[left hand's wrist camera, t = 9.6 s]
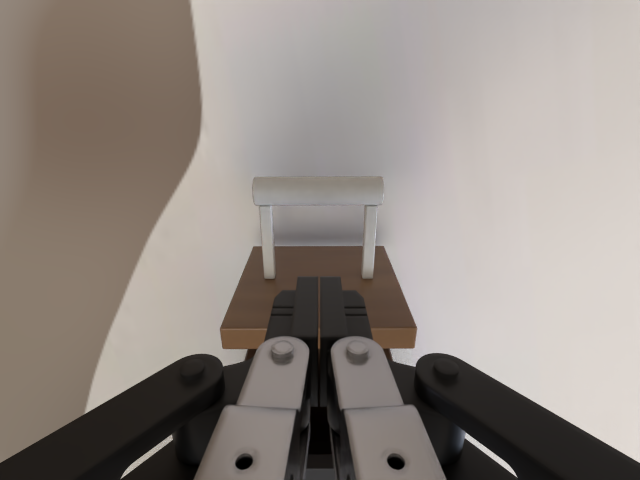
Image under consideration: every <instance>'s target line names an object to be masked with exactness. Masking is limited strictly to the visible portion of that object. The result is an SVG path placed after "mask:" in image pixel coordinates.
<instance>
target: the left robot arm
mask: <svg viewBox="0 0 640 480" xmlns="http://www.w3.org/2000/svg"><path fill="white" fill-rule="evenodd" d="M310 407H318V276H298V277H297V285H296V290H282V291H281V292H280V293H279V294H278V295H277V296H276V297H275V298H274V302H273V306H272V310H271V316H270V319H269V323H268V327H267V331H266V335H265V340H264V343H262V344H261V345H260V346H259V347H258V349H257V351H256V353H255V356H253V357H252V358H250V359H248V360H246V361H243V362H240V363H237V364H233V365H228V366H224V367H223V365H222V362H221V361H220V360H219V359H218V358H217V357H215V356H212V355H208V354H195V355H190V356H187V357H184V358H182V359H180V360H178V361H176V362H174V363H172V364H171V365H169V366H167V367H165V368H164V369H162V370H160V371H159V372H157V373H155V374H153V375H152V376H150V377H148V378H146V379H145V380H143V381H141V382H140V383H138V384H136V385H134V386H133V387H131V388H129V389H127V390H126V391H124V392H122V393H121V394H119V395H117V396H115V397H114V398H112V399H110V400H108V401H107V402H105V403H103V404H102V405H100V406H98V407H96V408H95V409H93V410H91V411H89V412H88V413H86V414H84V415H83V416H81V417H79V418H77V419H76V420H74V421H72V422H71V423H69V424H67V425H65V426H64V427H62V428H60V429H58V430H57V431H55V432H53V433H51V434H50V435H48V436H46V437H45V438H43V439H41V440H39V441H38V442H36V443H34V444H32V445H31V446H29V447H27V448H25V449H24V450H22V451H20V452H19V453H17V454H15V455H13V456H12V457H10V458H8V459H6V460H5V461H3V462H1V463H0V480H305V473H306V465H307V456H308V448H309V439H310ZM320 407H327V417H328V422H329V425H330V439H331V448H332V456H333V465H334V473H335V480H640V463H639V462H637V461H635V460H634V459H632V458H630V457H628V456H627V455H625V454H623V453H621V452H620V451H618V450H616V449H614V448H613V447H611V446H609V445H608V444H606V443H604V442H602V441H601V440H599V439H597V438H595V437H594V436H592V435H590V434H589V433H587V432H585V431H583V430H582V429H580V428H578V427H576V426H575V425H573V424H571V423H570V422H568V421H566V420H564V419H563V418H561V417H559V416H557V415H556V414H554V413H552V412H551V411H549V410H547V409H545V408H544V407H542V406H540V405H538V404H537V403H535V402H533V401H532V400H530V399H528V398H526V397H525V396H523V395H521V394H519V393H518V392H516V391H514V390H513V389H511V388H509V387H507V386H506V385H504V384H502V383H500V382H499V381H497V380H495V379H494V378H492V377H490V376H488V375H487V374H485V373H483V372H481V371H480V370H478V369H476V368H474V367H473V366H471V365H469V364H468V363H466V362H464V361H462V360H461V359H459V358H457V357H454V356H451V355H448V354H442V353H432V354H427V355H424V356H422V357H421V358H420V359H419V360H418V361H417V363H416V367H413V366H409V365H404V364H400V363H397V362H394V361H391V360H389V359H387V358H386V356H385V353H384V351H383V349H382V347H381V346H380V345H379V344H378V343H376V342H375V341H373V337H372V332H371V328H370V323H369V319H368V316H367V310H366V306H365V302H364V298H363V297H362V296H361V295H360V294H359V293H358V292H357V291H356V290H342V284H341V277H340V276H320ZM465 433H467V434H469V435H470V436H472V437H473V438H474V439H476V440H477V441H478V442H480V443H481V444H482V445H484V446H485V447H486V448H488V449H489V450H491V451H492V452H493V453H495V454H496V455H497V456H499V457H500V458H501V459H503V460H504V461H505V462H507V463H508V464H509V465H510V467H511V468H512V469H513V470H514V472H515V473H516V475H517V477H518V478H517V477H516V476H514V475H513V474H512V473H510V472H509V471H508V470H506V469H505V468H504V467H502V466H501V465H500V464H498V463H497V462H496V461H494V460H493V459H492V458H490V457H489V456H488V455H486V454H485V453H484V452H482V451H481V450H480V449H478V448H477V447H476V446H474V445H473V444H472V443H470V442H469V441H468V440H466V439H465ZM171 434H172V437H173V440H172V441H171V442H170V443H168V444H167V445H166V446H164V447H163V448H162V449H160V450H159V451H158V452H156V453H155V454H154V455H152V456H151V457H150V458H148V459H147V460H146V461H144V462H143V463H142V464H140V465H139V466H138V467H136V468H135V469H134V470H132V471H131V472H130V473H128V474H127V475H126V476H124V477H123V478H122V479H121V476H122V475H123V473H124V472H125V470H126V469H127V468H128V467H129V466H130V465H131V464H132V463H133V462H135V461H136V460H137V459H139V458H140V457H141V456H143V455H144V454H145V453H147V452H148V451H149V450H151V449H152V448H154V447H155V446H156V445H158V444H159V443H160V442H162V441H163V440H164V439H166V438H167V437H168V436H170V435H171Z"/></svg>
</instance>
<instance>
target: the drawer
mask: <svg viewBox="0 0 640 480" xmlns="http://www.w3.org/2000/svg"><path fill="white" fill-rule="evenodd" d="M252 191H253V201H254V204H255V205H260V207H259V211H260V225H261V239H262V246H254V247H253V249H252V252H251V254H250V256H249V259H248V261H247V264H246V266H245V269H244V271H243V274H242V276H241V278H240V281H239V283H238V286H237V288H236V291H235V293H234V296H233V298H232V300H231V303H230V305H229V308H228V310H227V313H226V315H225V318H224V320H223V322H222V325H221V327H220V333H221V340H222V347H223V349H248V350H247V353H246V357H245V361H246V360H248V359H250V358H252V357H253V356H255V353H256V351H257V349H258V347H259V346H260V345H261V344H262V343H264V340H265V335H266V331H267V327H268V323H269V319H270V316H271V310H272V306H273V302H274V298H275V297H276V296H277V295H278V294H279V293H280V292H281V291H282V290H296V285H297V277H298V276H318V407H310V439H309V448H308V454H332V448H331V439H330V425H329V422H328V417H327V407H320V276H340V277H341V284H342V290H356V291H357V292H358V293H359V294H360V295H361V296H362V297H363V298H364V302H365V306H366V310H367V316H368V319H369V323H370V328H371V332H372V337H373V341H375V342H376V343H378V344H379V345H380V346H381V347H382V349H383V351H384V353H385V356H386V358H387V359H389V360H391V361H393V359H392V355H391V351H390V348H414V347H415V341H416V333H417V327H416V324H415V322H414V319H413V317H412V314H411V312H410V309H409V307H408V304H407V302H406V300H405V297H404V295H403V292H402V290H401V287H400V285H399V282H398V280H397V278H396V275H395V273H394V270H393V268H392V265H391V263H390V260H389V258H388V255H387V253H386V251H385V248H384V246H375V238H376V223H377V208H378V207H377V205H382V203H383V198H384V181H383V178H382V177H254V179H253V187H252ZM272 205H365V210H364V230H363V246H274V232H273V215H272Z"/></svg>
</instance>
